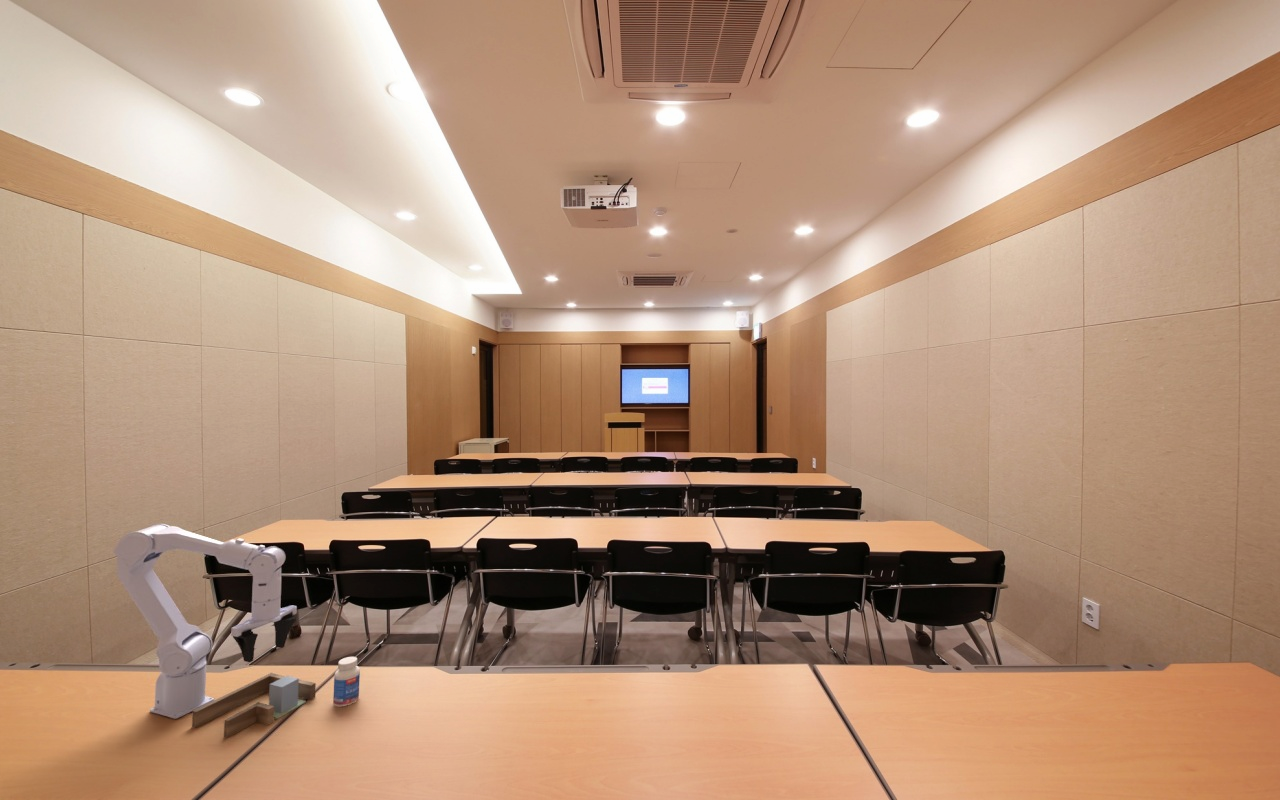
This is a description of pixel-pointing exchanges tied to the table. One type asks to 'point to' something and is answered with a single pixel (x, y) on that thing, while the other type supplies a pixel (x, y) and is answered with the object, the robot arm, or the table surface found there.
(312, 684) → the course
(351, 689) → the pill bottle
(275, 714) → the pad
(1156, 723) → the table surface
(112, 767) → the table surface
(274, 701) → the block
